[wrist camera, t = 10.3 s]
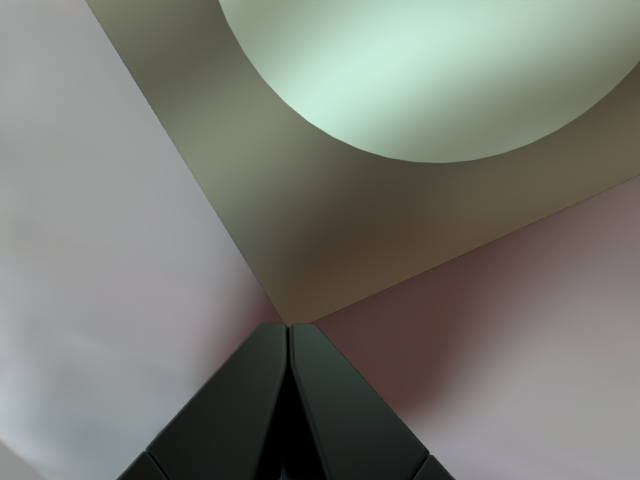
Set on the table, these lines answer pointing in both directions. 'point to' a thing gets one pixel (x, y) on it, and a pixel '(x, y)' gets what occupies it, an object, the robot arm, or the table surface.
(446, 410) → the table surface
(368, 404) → the robot arm
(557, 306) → the table surface
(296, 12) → the flange plate
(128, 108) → the table surface
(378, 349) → the table surface
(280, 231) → the beige square tray
